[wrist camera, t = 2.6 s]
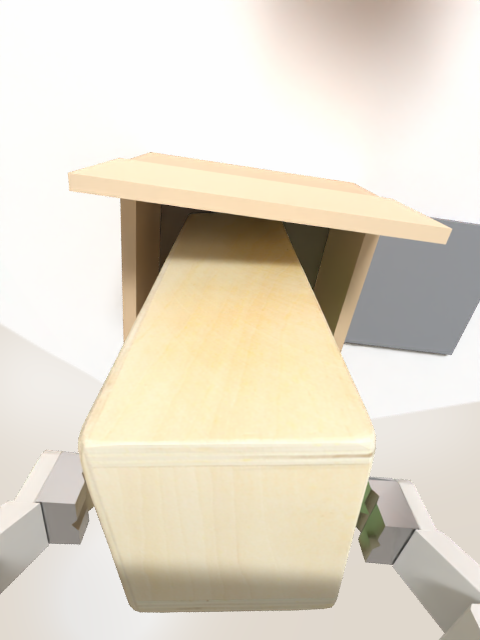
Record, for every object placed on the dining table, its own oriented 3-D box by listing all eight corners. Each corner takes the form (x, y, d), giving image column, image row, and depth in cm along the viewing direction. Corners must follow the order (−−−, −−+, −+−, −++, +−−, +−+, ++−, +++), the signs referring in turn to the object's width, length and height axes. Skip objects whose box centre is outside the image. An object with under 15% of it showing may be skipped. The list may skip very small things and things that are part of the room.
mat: (511, 229, 26) (515, 230, 26) (448, 351, 32) (451, 354, 31) (367, 207, 26) (369, 209, 25) (328, 337, 31) (329, 340, 30)
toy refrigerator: (284, 309, 30) (357, 616, 11) (196, 310, 30) (123, 617, 11) (290, 211, 26) (416, 434, 7) (188, 212, 26) (59, 435, 7)
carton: (354, 179, 25) (452, 229, 13) (306, 351, 32) (344, 480, 20) (150, 148, 24) (68, 172, 12) (147, 332, 31) (93, 456, 19)
